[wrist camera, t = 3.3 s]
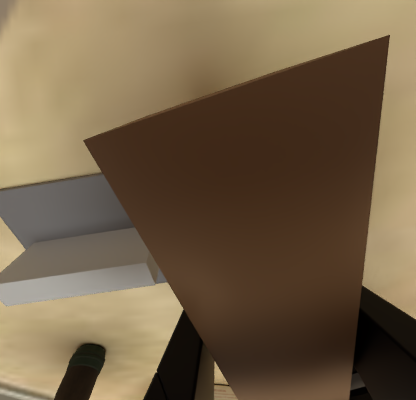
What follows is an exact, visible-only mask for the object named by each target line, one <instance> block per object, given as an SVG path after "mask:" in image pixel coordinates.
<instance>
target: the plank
mask: <svg viewBox="0 0 416 400" xmlns="http://www.w3.org/2000/svg"><path fill="white" fill-rule="evenodd" d="M389 38H390V35H388V36H385V37H381V38H378V39H375V40H372V41H369V42H366V43H363V44H360V45H357V46H354V47H350V48H347V49H344V50H341V51H338V52H335V53H332V54H329V55H326V56H323V57H319V58H316V59H313V60H310V61H307V62H304V63H301V64H298V65H295V66H292V67H288V68H285V69H282V70H279V71H276V72H273V73H270V74H267V75H264V76H261V77H258V78H256V79H253V80H250V81H247V82H244V83H241V84H238V85H235V86H232V87H230V88H227V89H224V90H221V91H218V92H215V93H212V94H209V95H206V96H203V97H201V98H198V99H195V100H192V101H189V102H186V103H183V104H180V105H177V106H175V107H172V108H169V109H166V110H163V111H160V112H157V113H154V114H151V115H149V116H146V117H143V118H141V119H138V120H135V121H133V122H130V123H128V124H125V125H122V126H120V127H117V128H114V129H112V130H109V131H107V132H104V133H101V134H99V135H96V136H93V137H91V138H88V139H86V140H83V141H84V143H85V145H86V146H87V148H88V150H89V151H90V153H91V155H92V156H93V158H94V160H95V161H96V163H97V165H98V166H99V168H100V170H101V171H102V173H103V175H104V176H105V178H106V180H107V181H108V183H109V185H110V186H111V188H112V190H113V191H114V193H115V195H116V196H117V198H118V200H119V201H120V203H121V205H122V206H123V208H124V210H125V212H126V213H127V215H128V217H129V218H130V220H131V222H132V223H133V225H134V227H135V228H136V230H137V232H138V233H139V235H140V237H141V238H142V240H143V242H144V243H145V245H146V247H147V248H148V250H149V252H150V253H151V255H152V257H153V258H154V260H155V262H156V263H157V265H158V267H159V268H160V270H161V272H162V273H163V275H164V277H165V278H166V280H167V282H168V283H169V285H170V287H171V289H172V290H173V292H174V294H175V295H176V297H177V299H178V300H179V302H180V304H181V305H182V307H183V309H184V310H185V312H186V314H187V315H188V317H189V319H190V320H191V322H192V324H193V325H194V327H195V329H196V330H197V332H198V334H199V335H200V337H201V339H202V340H203V342H204V344H205V345H206V347H207V349H208V350H209V352H210V354H211V355H212V357H213V359H214V360H215V362H216V364H217V366H218V367H219V369H220V371H221V372H222V374H223V376H224V377H225V379H226V381H227V382H228V384H229V386H230V387H231V389H232V391H233V392H234V394H235V396H236V397H237V399H238V400H349V396H350V387H351V378H352V369H353V360H354V351H355V342H356V333H357V324H358V315H359V306H360V297H361V288H362V279H363V270H364V261H365V253H366V244H367V235H368V226H369V217H370V208H371V199H372V190H373V181H374V172H375V163H376V154H377V145H378V136H379V127H380V118H381V109H382V100H383V91H384V82H385V74H386V65H387V56H388V47H389Z"/></svg>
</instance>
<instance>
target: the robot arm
mask: <svg viewBox="0 0 416 400" xmlns="http://www.w3.org/2000/svg"><path fill="white" fill-rule="evenodd" d="M143 400H214V359H213V357H212V355H211V354H210V352H209V350H208V349H207V347H206V345H205V344H204V342H203V340H202V339H201V337H200V335H199V334H198V332H197V330H196V329H195V327H194V325H193V324H192V322H191V320H190V319H189V317H188V315H187V314H186V312H185V310H183V312H182V314H181V316H180V319H179V321H178V323H177V325H176V328H175V330H174V332H173V334H172V337H171V339H170V341H169V343H168V346H167V348H166V350H165V352H164V355H163V357H162V359H161V361H160V364H159V366H158V368H157V372H156V373H155V375H154V377H153V379H152V382H151V384H150V386H149V388H148V390H147V393H146V395H145V397H144V399H143ZM349 400H416V319H414V318H413V317H411V316H409V315H408V314H406V313H405V312H403V311H402V310H400V309H398V308H397V307H395V306H394V305H392V304H391V303H389V302H387V301H386V300H384V299H383V298H381V297H380V296H378V295H376V294H375V293H373V292H372V291H370V290H369V289H367V288H365V287H364V286H362V288H361V297H360V306H359V315H358V324H357V333H356V342H355V351H354V360H353V369H352V378H351V387H350V396H349Z"/></svg>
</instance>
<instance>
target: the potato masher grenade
mask: <svg viewBox="0 0 416 400" xmlns="http://www.w3.org/2000/svg"><path fill="white" fill-rule="evenodd" d="M104 362H105V351H104V350H103V348H101V347H99V346H97V345H91V344H90V345H84V346H81V347H80V348H78V350H77V351H76V352H75V353H74V354H73V356H72V358H71V359H70V361H69V365H68V367H67V371H66V373H65V376H64V378H63V380H62V382H61V384H60V386H59V388H58V390H57V393H56V395H55V398H54V400H89V398H90V396H91V393H92V390H93V387H94V385H95V382H96V379H97V377H98V375H99V373H100V371H101V369H102V367H103V365H104Z"/></svg>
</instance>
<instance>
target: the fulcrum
mask: <svg viewBox="0 0 416 400" xmlns="http://www.w3.org/2000/svg"><path fill="white" fill-rule="evenodd" d="M0 217H1V218H2V220H3V221H4V222H5V223H6V225H7V226H8V227H9V229H10V230H11V231H12V232H13V234H14V235H15V236H16V238H17V239H18V240H19V241H20V243H21V244H22V245H23V247H24V248H25V249H26V250H25V251H24V252H23V253H22V254H21V255H20V256H19V257H18V258H16V259H15V260H14V261H13V262H12V263H11V264H10V265H9V266H7V267H6V268H5V269H4V270H3V271H2V272H1V273H0V301H1V302H2V303H3V304H4V305H5V306H12V305H19V304H26V303H33V302H40V301H47V300H54V299H61V298H68V297H75V296H82V295H89V294H96V293H103V292H110V291H117V290H124V289H131V288H138V287H145V286H152V285H155V284H158V283H165V282H167V280H166V278H165V277H164V275H163V273H162V272H161V270H160V268H159V267H158V265H157V263H156V262H155V260H154V258H153V257H152V255H151V253H150V252H149V250H148V248H147V247H146V245H145V243H144V242H143V240H142V238H141V237H140V235H139V233H138V232H137V230H136V228H135V227H134V225H133V223H132V222H131V220H130V218H129V217H128V215H127V213H126V212H125V210H124V208H123V206H122V205H121V203H120V201H119V200H118V198H117V196H116V195H115V193H114V191H113V190H112V188H111V186H110V185H109V183H108V181H107V180H106V178H105V176H104V175H103V173H99V174H93V175H86V176H80V177H74V178H68V179H62V180H56V181H49V182H43V183H37V184H31V185H25V186H18V187H12V188H6V189H0Z"/></svg>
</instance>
